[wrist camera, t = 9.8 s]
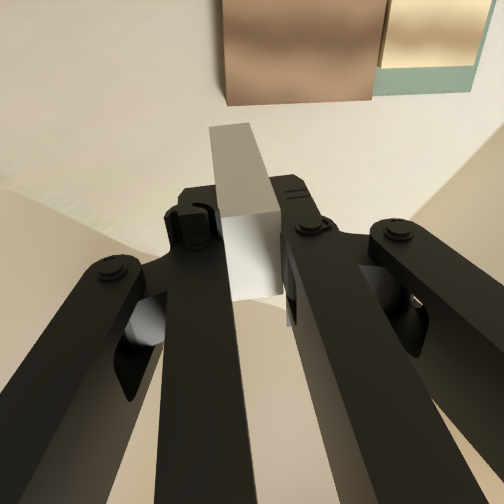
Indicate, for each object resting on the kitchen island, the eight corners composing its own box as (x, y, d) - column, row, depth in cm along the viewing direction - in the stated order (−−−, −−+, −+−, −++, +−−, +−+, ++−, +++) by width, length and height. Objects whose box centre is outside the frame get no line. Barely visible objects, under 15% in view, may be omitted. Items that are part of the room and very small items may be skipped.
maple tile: (384, -11, 35) (393, -10, 33) (481, -12, 36) (495, -11, 34) (373, 64, 38) (381, 68, 37) (461, 61, 39) (473, 65, 38)
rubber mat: (391, -55, 34) (393, -55, 33) (508, -55, 35) (512, -56, 34) (369, 94, 41) (371, 96, 40) (467, 91, 41) (470, 92, 41)
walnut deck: (218, -54, 32) (220, -55, 31) (385, -55, 34) (395, -56, 32) (225, 100, 39) (227, 106, 38) (364, 95, 40) (371, 100, 39)
